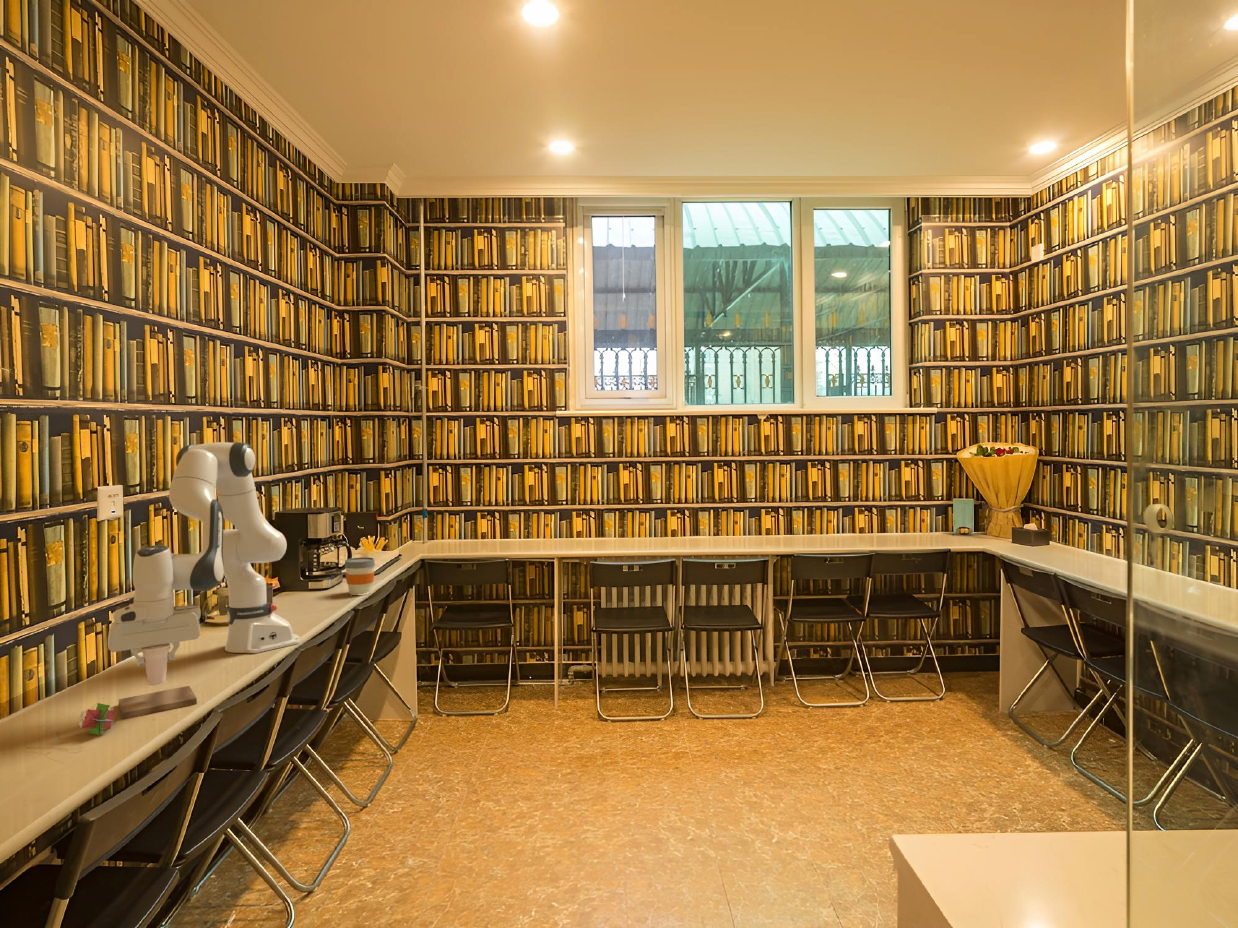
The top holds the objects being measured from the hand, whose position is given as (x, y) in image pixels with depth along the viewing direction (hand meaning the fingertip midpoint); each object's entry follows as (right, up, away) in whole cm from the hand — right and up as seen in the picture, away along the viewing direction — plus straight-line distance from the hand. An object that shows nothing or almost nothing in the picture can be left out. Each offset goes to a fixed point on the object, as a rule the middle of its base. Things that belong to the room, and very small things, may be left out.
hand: (156, 661), depth 189 cm
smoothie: (0, -6, 0) cm, 6 cm away
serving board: (0, -11, +1) cm, 11 cm away
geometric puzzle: (-3, -12, -17) cm, 21 cm away
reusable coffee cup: (+7, -6, +131) cm, 131 cm away
